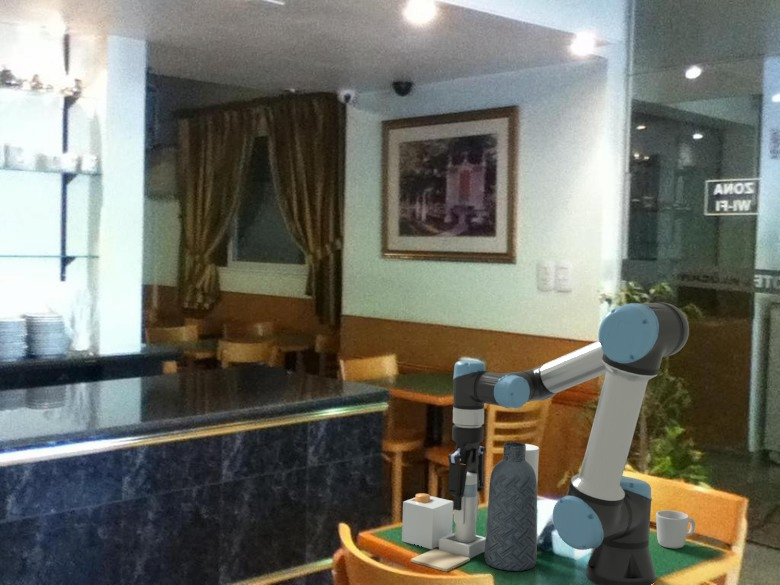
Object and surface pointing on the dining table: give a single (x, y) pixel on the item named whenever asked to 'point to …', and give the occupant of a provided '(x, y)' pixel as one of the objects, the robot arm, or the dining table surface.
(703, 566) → the dining table surface
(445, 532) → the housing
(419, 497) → the brown egg
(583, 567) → the dining table surface
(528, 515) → the vase
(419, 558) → the coaster
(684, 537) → the cup
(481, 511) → the dining table surface
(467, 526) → the cylinder
